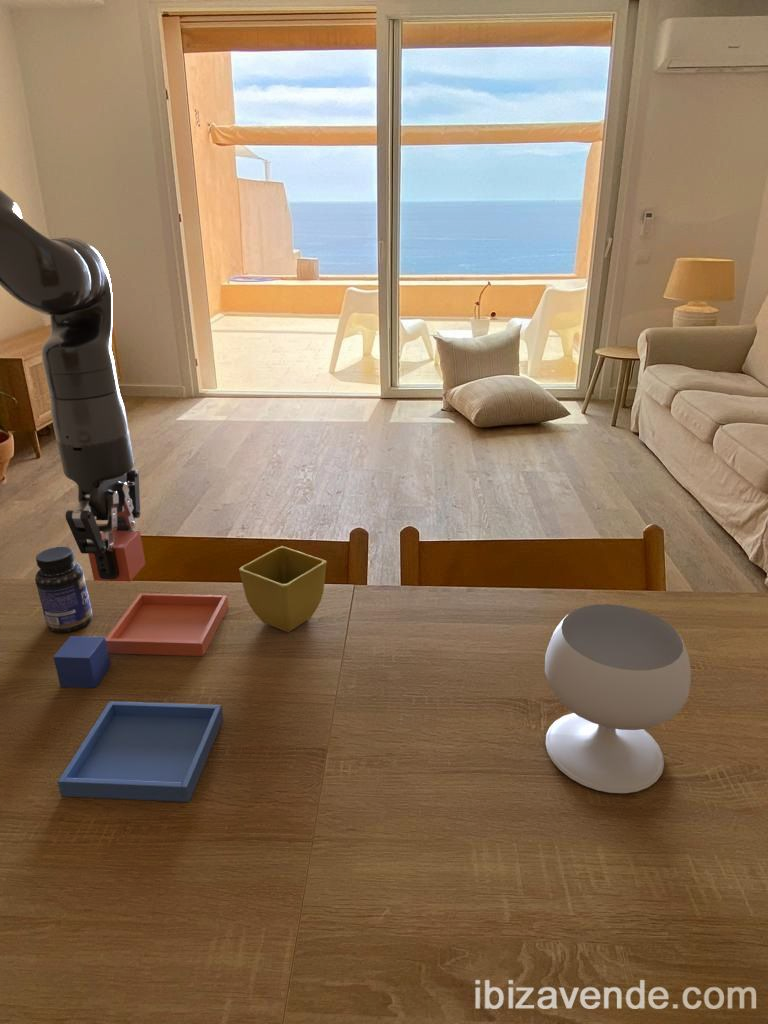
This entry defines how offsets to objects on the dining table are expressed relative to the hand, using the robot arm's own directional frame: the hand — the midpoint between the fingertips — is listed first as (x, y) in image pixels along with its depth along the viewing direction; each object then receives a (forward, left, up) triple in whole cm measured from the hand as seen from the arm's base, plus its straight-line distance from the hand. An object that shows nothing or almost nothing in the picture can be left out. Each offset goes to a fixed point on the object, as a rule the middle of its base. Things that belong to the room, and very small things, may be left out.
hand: (119, 566), depth 84 cm
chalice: (+56, -13, -15) cm, 60 cm away
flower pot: (+17, +11, -15) cm, 25 cm away
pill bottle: (-14, +9, -15) cm, 22 cm away
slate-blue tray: (+7, -16, -14) cm, 23 cm away
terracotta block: (0, 0, -1) cm, 1 cm away
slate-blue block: (-6, -3, -14) cm, 16 cm away
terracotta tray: (+1, +8, -14) cm, 17 cm away
